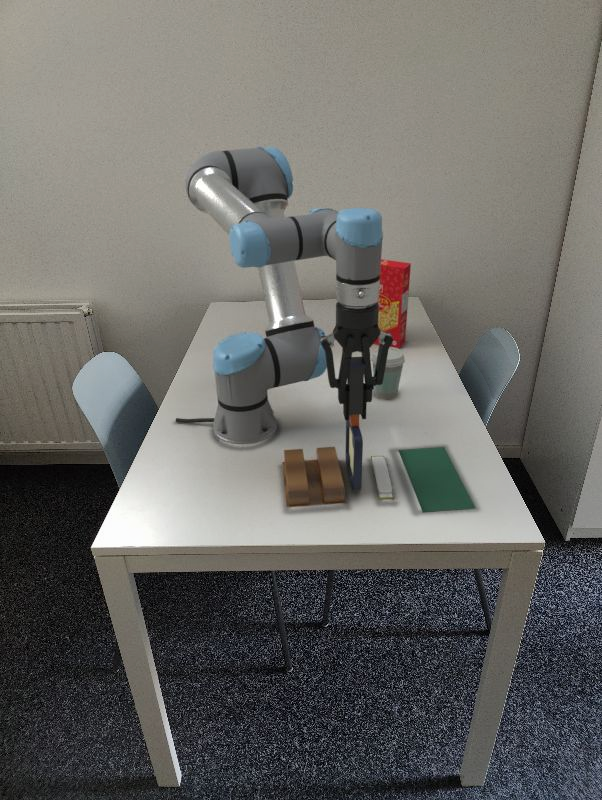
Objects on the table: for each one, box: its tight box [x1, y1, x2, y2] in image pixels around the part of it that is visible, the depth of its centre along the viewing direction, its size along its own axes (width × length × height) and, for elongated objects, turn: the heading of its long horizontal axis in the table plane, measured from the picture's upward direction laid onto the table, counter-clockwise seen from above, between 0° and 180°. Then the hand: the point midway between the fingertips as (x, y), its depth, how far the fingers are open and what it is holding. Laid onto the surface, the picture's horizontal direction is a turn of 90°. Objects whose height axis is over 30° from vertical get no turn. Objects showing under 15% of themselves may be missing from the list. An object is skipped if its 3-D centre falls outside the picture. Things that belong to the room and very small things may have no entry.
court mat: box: [397, 446, 476, 513], centre depth 124 cm, size 12×21×1 cm, turn 5°
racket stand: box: [281, 446, 348, 508], centre depth 121 cm, size 15×12×5 cm
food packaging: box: [373, 258, 412, 349], centre depth 177 cm, size 15×5×25 cm, turn 60°
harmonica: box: [370, 455, 394, 501], centre depth 123 cm, size 15×3×2 cm, turn 1°
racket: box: [345, 356, 365, 491], centre depth 115 cm, size 11×3×27 cm, turn 5°
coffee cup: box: [370, 347, 406, 400], centre depth 152 cm, size 9×8×12 cm
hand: (354, 415), depth 114 cm, fingers closed on racket, 3 cm apart
